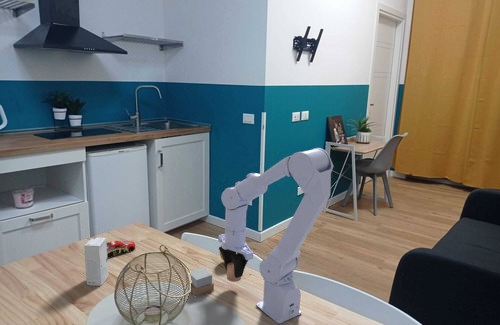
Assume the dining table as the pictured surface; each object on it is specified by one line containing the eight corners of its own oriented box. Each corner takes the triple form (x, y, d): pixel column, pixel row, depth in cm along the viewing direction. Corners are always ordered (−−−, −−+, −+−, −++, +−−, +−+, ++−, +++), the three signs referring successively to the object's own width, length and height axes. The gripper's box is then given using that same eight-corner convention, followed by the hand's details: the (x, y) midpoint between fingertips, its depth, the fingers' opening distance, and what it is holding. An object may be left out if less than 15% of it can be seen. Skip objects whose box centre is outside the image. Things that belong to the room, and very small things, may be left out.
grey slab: (212, 283, 104) (212, 275, 103) (196, 288, 101) (196, 280, 100) (203, 275, 108) (203, 267, 107) (187, 280, 105) (187, 272, 104)
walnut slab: (213, 291, 104) (213, 283, 104) (194, 298, 101) (194, 290, 100) (203, 282, 109) (203, 274, 108) (184, 288, 105) (184, 280, 105)
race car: (131, 245, 131) (131, 234, 130) (138, 250, 127) (138, 239, 126) (93, 255, 122) (93, 244, 121) (99, 261, 118) (99, 249, 117)
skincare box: (101, 286, 104) (100, 246, 101) (85, 285, 103) (83, 245, 101) (109, 275, 110) (107, 237, 107) (93, 274, 110) (92, 236, 107)
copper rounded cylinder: (243, 279, 105) (244, 266, 104) (231, 283, 102) (232, 270, 102) (235, 273, 108) (236, 260, 107) (224, 277, 105) (224, 264, 105)
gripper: (209, 222, 105) (209, 266, 108) (238, 240, 94) (236, 288, 97) (230, 218, 109) (229, 260, 112) (260, 234, 98) (258, 281, 101)
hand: (234, 273), depth 105 cm, fingers closed on copper rounded cylinder, 4 cm apart
